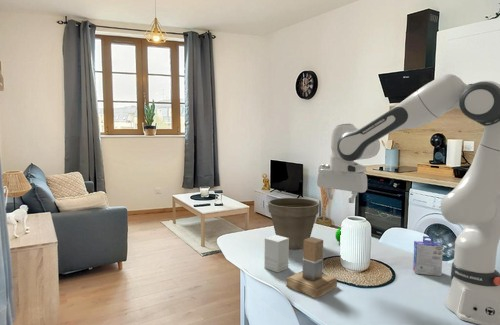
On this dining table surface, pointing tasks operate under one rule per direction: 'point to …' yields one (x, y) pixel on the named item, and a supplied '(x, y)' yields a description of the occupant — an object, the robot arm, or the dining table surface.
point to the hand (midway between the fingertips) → (340, 201)
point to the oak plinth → (311, 284)
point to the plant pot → (293, 219)
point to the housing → (312, 259)
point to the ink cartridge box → (428, 257)
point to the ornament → (338, 235)
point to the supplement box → (276, 253)
